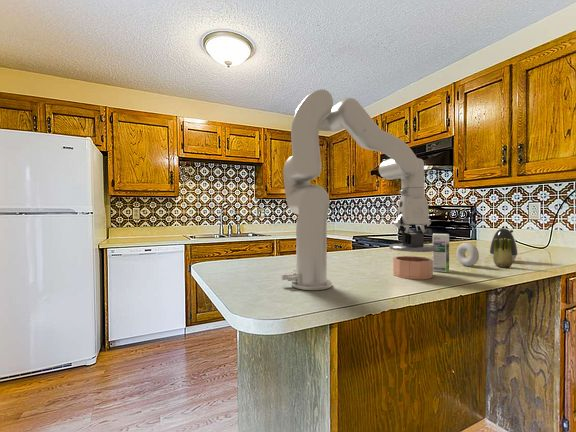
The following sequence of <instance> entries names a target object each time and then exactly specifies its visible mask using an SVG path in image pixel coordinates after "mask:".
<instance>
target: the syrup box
mask: <svg viewBox="0 0 576 432" xmlns="http://www.w3.org/2000/svg"><path fill="white" fill-rule="evenodd" d="M432 245H434V246H437V247H438V250H437V251H432V260H433V272H438V273H439V272H440V273H448V274H449V273H450V234H449V233H432Z"/></svg>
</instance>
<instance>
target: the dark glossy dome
mask: <svg viewBox="0 0 576 432" xmlns="http://www.w3.org/2000/svg"><path fill="white" fill-rule="evenodd" d="M513 232H514V229H511V230H509V229H508V228H499V229H498V230H497V231H495V233H494V235H493V237H492V240H491V243H490V246H489V247H490V248H489V253H490V255H491V258H492V259H493V260H494V257H493V254H494V239H497V240H498V248H499V239H503V244H504V238H506V239H507V240H508V239H510V240H512V242H511V252H512V259H513V261H515V260H516V258H517V255H518V247H517V243H516V240H515V237H514V235H513ZM502 248H503V247H502Z"/></svg>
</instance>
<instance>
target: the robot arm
mask: <svg viewBox="0 0 576 432" xmlns="http://www.w3.org/2000/svg"><path fill="white" fill-rule="evenodd" d="M290 130H291V131H290V137H291V138H290V139H291V153H292V154H291V156H289V157H288V158H287V159H286V161H285V163H284V165H283V170H282V173H283V184H284V185H283V186H284V192H285V199H286V200H285V201H286V204H287V207H288V209H289V210H290V212H292V213H293V214H295V215H297V219H296V227H295V237H296V240H295V241H296V242H295V243H296V244H295V245H296V246H295V247H296V249H295V251H296V254H295V255H296V257H295V259H296V260H295V262H296V265H295V266H296V267H295V268H296V269H293V272H291V273H282V274H281V277H280V279H281V280H282V281H287V282H291V287H293V288H294V289H298V290H302V291H303V290H304V291H322V290H328V289H329V288H331V287H332V285H333V283H332V281H331V280H329V279H327V278H328V276H327V271H328V270H327V268H328V267H327V266H328V265H327V261H328V260H327V259H328V258H327V257H328V255H327V249H328V248H327V246H328V245H327V244H328V243H327V241H328V240H327V238H328V237H327V236H328V235H327V232H328V231H327V225H328V224H327V223H328V215H329V210H330V209H329V208H330V196H329V193H328V192H327V190H326V189H325V188H324V187H323V186H321V185H319V184H311V181H312V180H315V179H316V178H318V177H319V176H320V175H321V172H322V167H323V166H322V159H321V149H320V138H319V132H328V133H329V132H333V133H334V132H335V133H337V132H340V131H342V130H345V131H346V132H347V133H348V135H350V137H352V138H351V139H353V140H354V141H355V142H356V144H357V145H358V146H359V147H360V148H362V149H365V150H369V151H374V152H378V153H382V154H384V155H386V156H387V157H389V158H387V159H384V160H383V161H381V163H380V164H379V166H378V173H379V175H380V177H382V178H383V179H385V180H389V181H391V180H398V179H401V181H400V183H401V189H399V191H398V193H399V194H400V195H401V197H399V201H398V209H397V218H396V219H395V221H394V222H393V225H394V226H396V228H397V229H399V231H400V233H401V244H402V243H403V244H409V233H410V232H409V230H410V226H414V225H415V228H416V232H415V233H419V234H424V233H426V230H427V228H428V227H429V226H430V225H431V224H432V221H431V220H430V213H429V204H428V200H427V197H426V196H425V162H424V160H423V159H422V158H418V157H417V155H416V154H415V153H414V151H413V149H411V148H410V146H409V145H408V143H406V142H405V141H404V140H402V139H401V138H399V137H397V136H395V135H393V134H391V133H390V132H387V131H384V130H383V129H381V128H380V127H379V125H378V124H377V123H376V122H375V120H374V119H373V118H372V117H371V116H370V114H369V113H368V111H367V110H366V109H365V108H364V107H363V106H362V105H361V103H360V102H359V101H358V100H356V99H355V98H354V97H347V98H345V99H341V100H340V101H339V102H338V103H336V104H334V99H333V95H332V94H331V93H330V91H329V90H328V89H323V88H322V89H321V88H320V89H317V90H313V92H311V93H309V94H308V95H307V96H305V98H303V100H302V101H301V103H300V104H299V105H298V106H297V108H296V109H295V113H294V116H293V118H292V123H291V129H290Z"/></svg>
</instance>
